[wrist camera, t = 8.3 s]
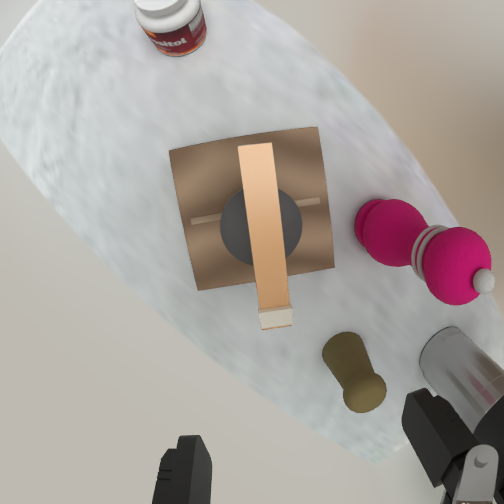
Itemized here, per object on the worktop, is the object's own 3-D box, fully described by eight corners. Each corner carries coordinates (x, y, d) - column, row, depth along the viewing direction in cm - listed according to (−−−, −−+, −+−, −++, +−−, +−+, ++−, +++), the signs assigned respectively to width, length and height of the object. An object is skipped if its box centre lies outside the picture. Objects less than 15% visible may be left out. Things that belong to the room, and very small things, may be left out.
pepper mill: (394, 256, 36) (500, 332, 16) (344, 249, 35) (439, 335, 16) (407, 201, 34) (530, 241, 14) (356, 189, 33) (474, 223, 14)
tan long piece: (289, 146, 24) (310, 138, 16) (303, 283, 27) (324, 324, 20) (211, 156, 24) (199, 151, 16) (232, 293, 27) (230, 337, 20)
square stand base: (331, 264, 35) (354, 290, 28) (199, 286, 36) (189, 319, 28) (314, 128, 31) (337, 117, 23) (171, 151, 31) (150, 147, 23)
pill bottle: (146, 52, 27) (112, 14, 17) (167, 11, 26) (144, -36, 15) (195, 63, 28) (176, 22, 18) (215, 20, 27) (207, -30, 16)
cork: (336, 326, 38) (365, 377, 27) (370, 338, 39) (403, 387, 28) (314, 361, 39) (334, 416, 29) (348, 371, 40) (373, 423, 30)
